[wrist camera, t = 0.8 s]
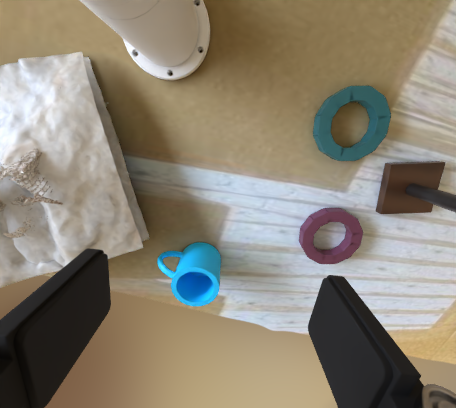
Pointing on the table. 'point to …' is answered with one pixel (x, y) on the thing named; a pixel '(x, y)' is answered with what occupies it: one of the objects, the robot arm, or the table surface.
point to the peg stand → (413, 188)
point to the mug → (194, 273)
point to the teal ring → (376, 128)
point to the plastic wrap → (60, 170)
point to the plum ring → (346, 246)
